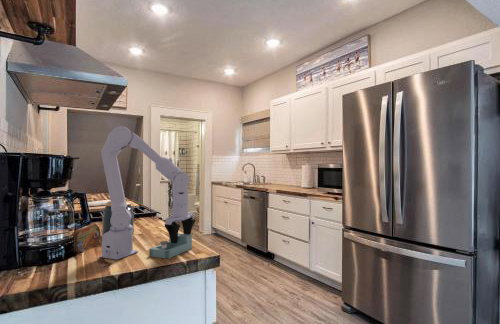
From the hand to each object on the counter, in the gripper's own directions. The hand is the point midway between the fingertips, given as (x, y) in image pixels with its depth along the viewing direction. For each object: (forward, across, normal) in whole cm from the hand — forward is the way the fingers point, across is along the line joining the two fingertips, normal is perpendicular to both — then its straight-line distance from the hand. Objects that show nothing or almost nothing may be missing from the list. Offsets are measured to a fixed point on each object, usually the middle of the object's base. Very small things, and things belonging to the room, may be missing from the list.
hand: (180, 240), depth 107 cm
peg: (+3, -9, 0) cm, 10 cm away
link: (+3, -6, 0) cm, 6 cm away
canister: (+3, +6, +39) cm, 39 cm away
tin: (+3, -14, +33) cm, 36 cm away
